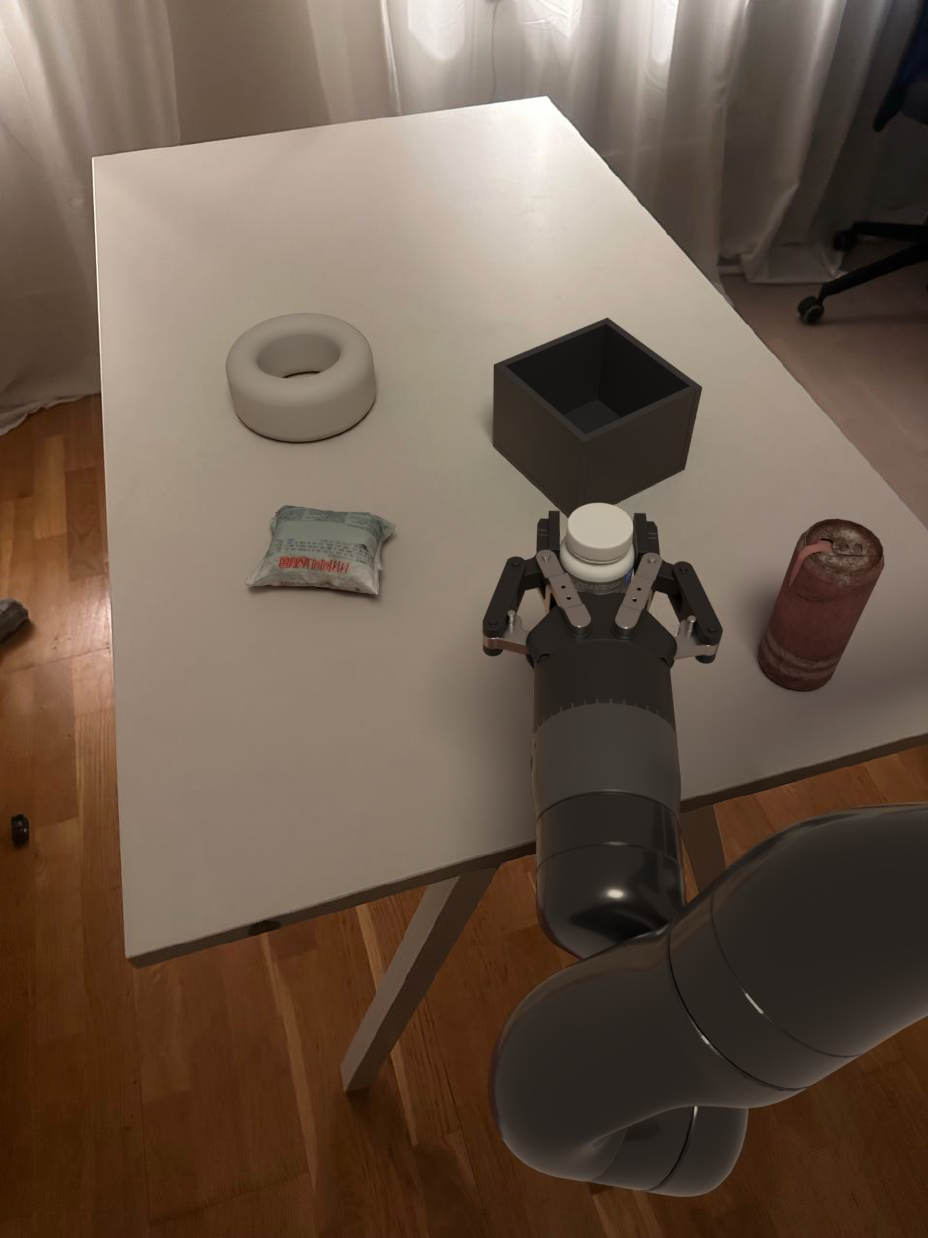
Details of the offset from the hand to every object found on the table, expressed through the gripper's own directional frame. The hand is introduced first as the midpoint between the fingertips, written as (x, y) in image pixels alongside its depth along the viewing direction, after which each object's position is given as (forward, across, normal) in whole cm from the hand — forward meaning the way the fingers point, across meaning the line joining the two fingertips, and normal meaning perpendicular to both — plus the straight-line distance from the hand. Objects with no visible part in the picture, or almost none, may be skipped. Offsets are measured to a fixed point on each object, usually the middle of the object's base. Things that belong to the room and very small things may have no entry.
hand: (595, 522), depth 61 cm
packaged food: (+13, +22, +20) cm, 33 cm away
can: (+5, -18, +20) cm, 28 cm away
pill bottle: (-3, 0, +6) cm, 7 cm away
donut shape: (+38, +28, +20) cm, 51 cm away
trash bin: (+30, -2, +20) cm, 36 cm away
